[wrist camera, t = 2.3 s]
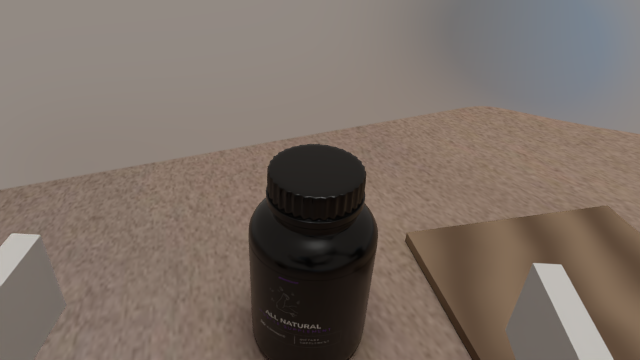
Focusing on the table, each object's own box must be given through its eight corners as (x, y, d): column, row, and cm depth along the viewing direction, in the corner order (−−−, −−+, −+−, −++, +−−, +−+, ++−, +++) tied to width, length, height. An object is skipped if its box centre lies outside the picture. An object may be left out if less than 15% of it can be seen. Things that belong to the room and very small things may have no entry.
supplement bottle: (267, 392, 26) (259, 224, 19) (244, 299, 31) (231, 141, 25) (382, 360, 28) (411, 196, 21) (341, 278, 33) (354, 125, 26)
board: (603, 212, 41) (607, 205, 40) (763, 352, 29) (771, 344, 29) (405, 240, 37) (406, 232, 36) (502, 413, 26) (506, 404, 25)
